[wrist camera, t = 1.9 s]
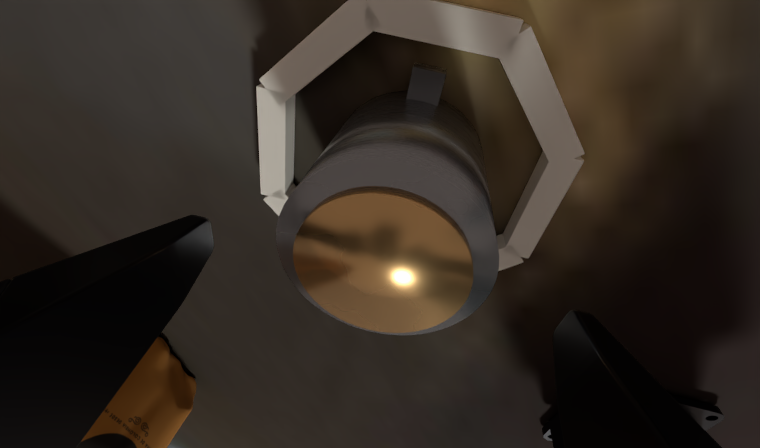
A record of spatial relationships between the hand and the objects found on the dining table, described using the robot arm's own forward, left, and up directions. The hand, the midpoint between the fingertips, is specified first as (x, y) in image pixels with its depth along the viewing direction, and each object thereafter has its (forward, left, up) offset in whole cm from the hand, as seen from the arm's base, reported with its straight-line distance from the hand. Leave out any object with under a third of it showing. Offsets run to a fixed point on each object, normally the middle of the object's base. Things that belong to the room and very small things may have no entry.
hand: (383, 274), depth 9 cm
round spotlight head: (0, 0, -6) cm, 6 cm away
